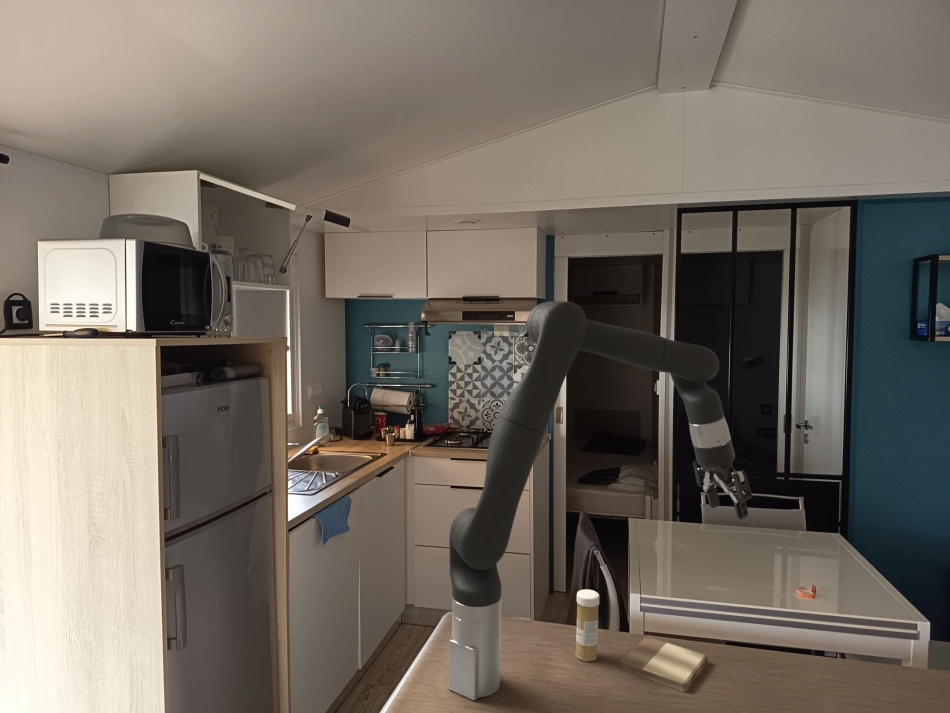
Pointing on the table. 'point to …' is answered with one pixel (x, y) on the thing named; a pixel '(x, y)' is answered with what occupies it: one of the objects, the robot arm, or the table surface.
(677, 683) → the board
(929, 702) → the table surface
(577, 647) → the sprinkles bottle
